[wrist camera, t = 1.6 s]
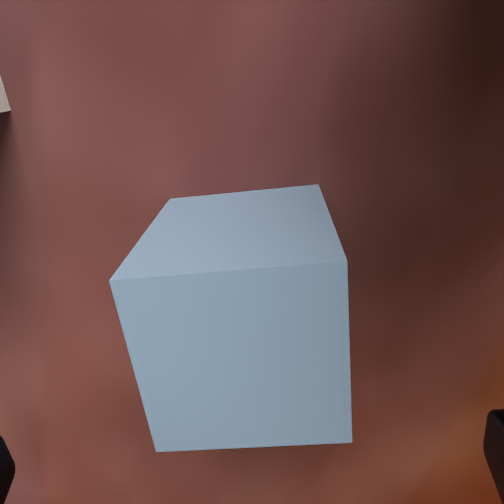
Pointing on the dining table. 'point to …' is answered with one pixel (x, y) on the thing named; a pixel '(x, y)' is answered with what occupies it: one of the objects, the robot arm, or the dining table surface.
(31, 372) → the dining table surface
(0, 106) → the slab bottom
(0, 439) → the robot arm
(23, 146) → the dining table surface
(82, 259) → the dining table surface
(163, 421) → the blue block
